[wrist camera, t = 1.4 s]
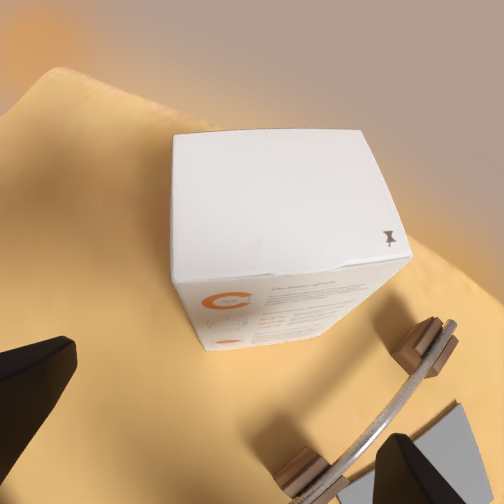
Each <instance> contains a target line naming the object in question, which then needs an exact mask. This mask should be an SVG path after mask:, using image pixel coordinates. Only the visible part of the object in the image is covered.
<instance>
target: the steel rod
mask: <svg viewBox="0 0 504 504" xmlns="http://www.w3.org/2000/svg"><path fill="white" fill-rule="evenodd" d="M456 327H457V324H456V322H455V321H454V320H451V319H449V320H447V322H446V323H445V325H444V326H443V328H442V330H441V331H440V333H439V334H438V336H437V337H436V339H435V340H434V342H433V343H432V345H431V346H430V348H429V349H428V351H427V352H426V354H425V355H424V357H423V358H422V360H421V361H420V362H419V364H418V365H417V367H416V368H415V369H414V371H413V372H412V373H411V375H410V376H409V377H408V379H407V380H406V381H405V383H404V384H403V385H402V387H401V388H400V389H399V391H398V392H397V393H396V394H395V396H394V397H393V398H392V399H391V401H390V402H389V403H388V404H387V405H386V407H385V408H384V409H383V410H382V411H381V413H380V414H379V415H378V416H377V417H376V418H375V420H374V421H373V422H372V423H371V424H370V425H369V426H368V428H367V429H366V430H365V431H364V432H363V433H362V434H361V435H360V436H359V437H358V439H357V440H356V441H355V442H354V443H353V444H352V445H351V446H350V447H349V448H348V449H347V450H346V451H345V452H344V453H343V454H342V455H341V456H340V457H339V458H338V459H337V460H336V461H335V462H334V463H333V464H332V465H331V466H330V467H329V468H328V469H327V470H326V471H325V472H324V473H323V474H321V475H320V476H319V477H318V478H317V479H316V480H315V481H314V482H313V483H312V484H310V485H309V486H308V487H307V488H306V489H305V490H304V491H302V492H301V493H300V494H299V495H298V496H297V497H295V498H294V499H293V500H292V501H291V502H289V503H288V504H310V503H312V502H313V501H314V500H315V499H316V498H317V497H318V496H320V495H321V494H322V493H323V492H324V491H325V490H326V489H327V488H328V487H330V486H331V485H332V484H333V483H334V482H335V481H336V480H337V479H338V478H339V477H340V476H341V475H342V474H343V473H344V472H345V471H346V470H347V469H348V468H349V467H350V466H351V465H352V464H353V463H354V462H355V461H356V460H357V459H358V458H359V457H360V456H361V455H362V454H363V453H364V451H365V450H366V449H367V448H368V447H369V446H370V445H371V444H372V443H373V442H374V440H375V439H376V438H377V437H378V436H379V435H380V434H381V433H382V431H383V430H384V429H385V428H386V427H387V425H388V424H389V423H390V422H391V421H392V419H393V418H394V417H395V416H396V415H397V413H398V412H399V411H400V409H401V408H402V407H403V406H404V404H405V403H406V402H407V400H408V399H409V398H410V397H411V395H412V394H413V393H414V391H415V390H416V388H417V387H418V386H419V384H420V383H421V382H422V380H423V379H424V377H425V376H426V374H427V373H428V372H429V370H430V369H431V367H432V366H433V364H434V363H435V361H436V360H437V358H438V357H439V355H440V353H441V352H442V350H443V349H444V347H445V346H446V344H447V342H448V341H449V339H450V337H451V336H452V334H453V332H454V331H455V329H456Z"/></svg>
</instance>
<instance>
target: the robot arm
mask: <svg viewBox="0 0 504 504" xmlns="http://www.w3.org/2000/svg"><path fill="white" fill-rule="evenodd" d="M76 368H77V352H76V344H75V342H74V341H73V340H71V339H69V338H67V337H65V336H59V337H55V338H52V339H48V340H44V341H41V342H37V343H34V344H30V345H27V346H23V347H19V348H16V349H12V350H8V351H5V352H1V353H0V485H1V484H2V482H3V481H4V479H5V478H6V476H7V475H8V473H9V472H10V470H11V469H12V467H13V466H14V464H15V463H16V461H17V460H18V458H19V457H20V455H21V454H22V452H23V451H24V449H25V448H26V446H27V445H28V444H29V442H30V441H31V439H32V438H33V436H34V435H35V434H36V432H37V431H38V429H39V428H40V427H41V425H42V424H43V422H44V421H45V420H46V418H47V417H48V415H49V414H50V413H51V411H52V410H53V408H54V407H55V405H56V403H57V402H58V400H59V398H60V396H61V394H62V393H63V391H64V389H65V387H66V386H67V384H68V382H69V381H70V379H71V377H72V375H73V374H74V372H75V370H76ZM372 504H466V502H465V501H464V500H463V499H462V498H461V497H460V496H459V494H458V493H457V492H456V491H455V490H454V489H453V488H452V486H451V485H450V484H449V483H448V482H447V481H446V480H445V478H444V477H443V476H442V475H441V474H440V473H439V472H438V470H437V469H436V468H435V467H434V466H433V465H432V463H431V462H430V461H429V460H428V459H427V458H426V457H425V455H424V454H423V453H422V452H421V451H420V450H419V449H418V447H417V446H416V445H415V444H414V443H413V442H412V440H411V439H410V438H409V437H408V436H407V435H406V434H401V433H393V434H391V435H390V436H389V437H388V439H387V440H386V441H385V442H384V443H383V445H382V446H381V447H380V448H379V450H378V451H377V454H376V462H375V476H374V487H373V500H372Z"/></svg>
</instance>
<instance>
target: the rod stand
mask: <svg viewBox="0 0 504 504" xmlns="http://www.w3.org/2000/svg"><path fill="white" fill-rule="evenodd" d="M442 325H443V322H442V321H441V320H440V319H439V318H438V317H436V318H434V317H433V316H432V317H430V318H429V319H427V320H425V321H423V322H421V323H419V324H417V325H415V326H413V327H411V329H410V330H409V331H408V333H407V334H406V335H405V337H404V338H403V339H402V341H401V342H400V343H399V345H398V346H397V347H396V348H395V350H394V351H393V352H392V354H391V356H392V357H393V358H394V359H395V360H396V361H397V362H398V363H399V364H400V366H401V367H402V368H403V369H404V370H405V371H406V372H407V373H408V374H409V375H411V373H412V372H413V371H414V369H415V368H416V367H417V365H418V364H419V362H420V361H421V360H422V358H423V357H424V355H425V354H426V352H427V351H428V349H429V348H430V346H431V345H432V343H433V342H434V340H435V339H436V337H437V336H438V334H439V333H440V331H441V330H442V328H443V327H442ZM458 342H459V341H458V339H457V338H456V337H455V336H454V335H452V336H451V337H450V339H449V341H448V342H447V344H446V346H445V347H444V349H443V350H442V352H441V353H440V355H439V357H438V358H437V360H436V361H435V363H434V364H433V366H432V367H431V369H430V370H429V372H428V373H427V374H426V376H425V377H424V379H425V378H430V377H435V376H438V374H439V372H440V371H441V369H442V368H443V366H444V365H445V363H446V362H447V360H448V358H449V357H450V355H451V354H452V352H453V350H454V349H455V347H456V345H457V343H458ZM330 466H331V465H330V464H329V463H328V462H327V461H326V460H325V459H324V458H323V457H322V456H320V455H319V454H318V453H316V452H314V451H312V450H310V449H309V448H307V447H305V448H304V449H303V450H302V451H300V452H299V453H298V454H297V455H296V456H295V457H294V458H293V459H292V460H290V461H289V462H288V463H287V464H286V465H285V466H284V467H282V468H281V469H280V470H279V471H278V472H277V473H275V474H274V475H273V476H272V477H273V478H274V480H275V482H276V483H277V485H278V486H279V488H280V489H281V490H282V491H283V492H284V493H285V494H286V495H288V496H289V497H290V498H292V499H294V498H295V497H297V496H298V495H299V494H300V493H301V492H302V491H304V490H305V489H306V488H307V487H308V486H309V485H310V484H312V483H313V482H314V481H315V480H316V479H317V478H318V477H319V476H320V475H321V474H323V473H324V472H325V471H326V470H327V469H328V468H329V467H330ZM348 483H350V481H349V480H348V479H347V478H345V477H344V476H343V475H341V476H340V477H339V478H338V479H337V480H336V481H335V482H334V483H333V484H332V485H331V486H330V487H328V488H327V489H326V490H325V491H324V492H323V493H322V494H321V495H320V496H318V497H317V498H316V499H315V500H314V501H313V502H312V503H310V504H327V503H328V502H329V501H330V500H332V499H333V498H334V497H335V496H336V495H337V494H338V493H339V492H340V491H341V490H342V489H343V488H344V487H345V486H346V485H347V484H348Z"/></svg>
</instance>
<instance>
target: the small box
mask: <svg viewBox="0 0 504 504" xmlns="http://www.w3.org/2000/svg"><path fill="white" fill-rule="evenodd" d="M413 257H414V256H413V253H412V251H411V248H410V245H409V242H408V239H407V236H406V233H405V230H404V228H403V225H402V222H401V219H400V217H399V214H398V212H397V209H396V206H395V204H394V201H393V199H392V197H391V194H390V192H389V189H388V187H387V185H386V183H385V180H384V178H383V176H382V174H381V171H380V169H379V167H378V165H377V163H376V161H375V158H374V156H373V154H372V152H371V150H370V148H369V146H368V144H367V142H366V140H365V138H364V136H363V134H362V132H361V131H360V130H357V129H356V130H355V129H323V128H322V129H321V128H274V129H273V128H272V129H247V130H246V129H245V130H224V131H210V132H198V133H186V134H175V135H174V136H173V139H172V162H171V192H170V276H171V282H172V283H173V285H174V287H175V289H176V291H177V293H178V296H179V298H180V300H181V302H182V304H183V306H184V308H185V311H186V313H187V315H188V317H189V319H190V321H191V323H192V326H193V328H194V330H195V332H196V334H197V336H198V339H199V341H200V343H201V345H202V347H203V348H204V350H205V351H218V350H229V349H239V348H247V347H255V346H263V345H270V344H277V343H284V342H291V341H297V340H303V339H309V338H314V337H318V336H320V335H321V334H322V333H324V332H325V331H326V330H328V329H329V328H330V327H331V326H332V325H334V324H335V323H336V322H337V321H339V320H340V319H341V318H343V317H344V316H345V315H346V314H348V313H349V312H350V311H352V310H353V309H354V308H356V307H357V306H358V305H359V304H360V303H362V302H363V301H364V300H365V299H367V298H368V297H369V296H370V295H372V294H373V293H374V292H375V291H376V290H377V289H379V288H380V287H381V286H382V285H383V284H385V283H386V282H387V281H388V280H389V279H390V278H391V277H393V276H394V275H395V274H396V273H397V272H398V271H400V270H401V269H402V268H403V267H404V266H405V265H406V264H407V263H408V262H409V261H411V260H412V259H413Z"/></svg>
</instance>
